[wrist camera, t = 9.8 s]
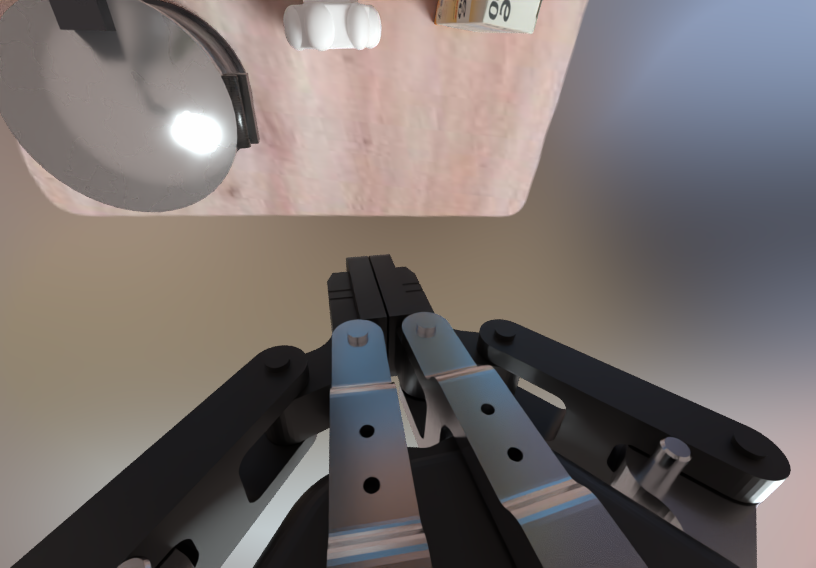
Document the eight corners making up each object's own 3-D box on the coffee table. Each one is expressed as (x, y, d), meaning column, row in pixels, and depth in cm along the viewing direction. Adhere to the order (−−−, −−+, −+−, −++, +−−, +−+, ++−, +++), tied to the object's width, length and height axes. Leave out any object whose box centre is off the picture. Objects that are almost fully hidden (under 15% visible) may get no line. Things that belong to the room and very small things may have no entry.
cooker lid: (-128, -164, 19) (-185, -191, 17) (198, -128, 22) (187, -146, 20) (62, 212, 30) (43, 226, 28) (262, 200, 33) (259, 212, 31)
